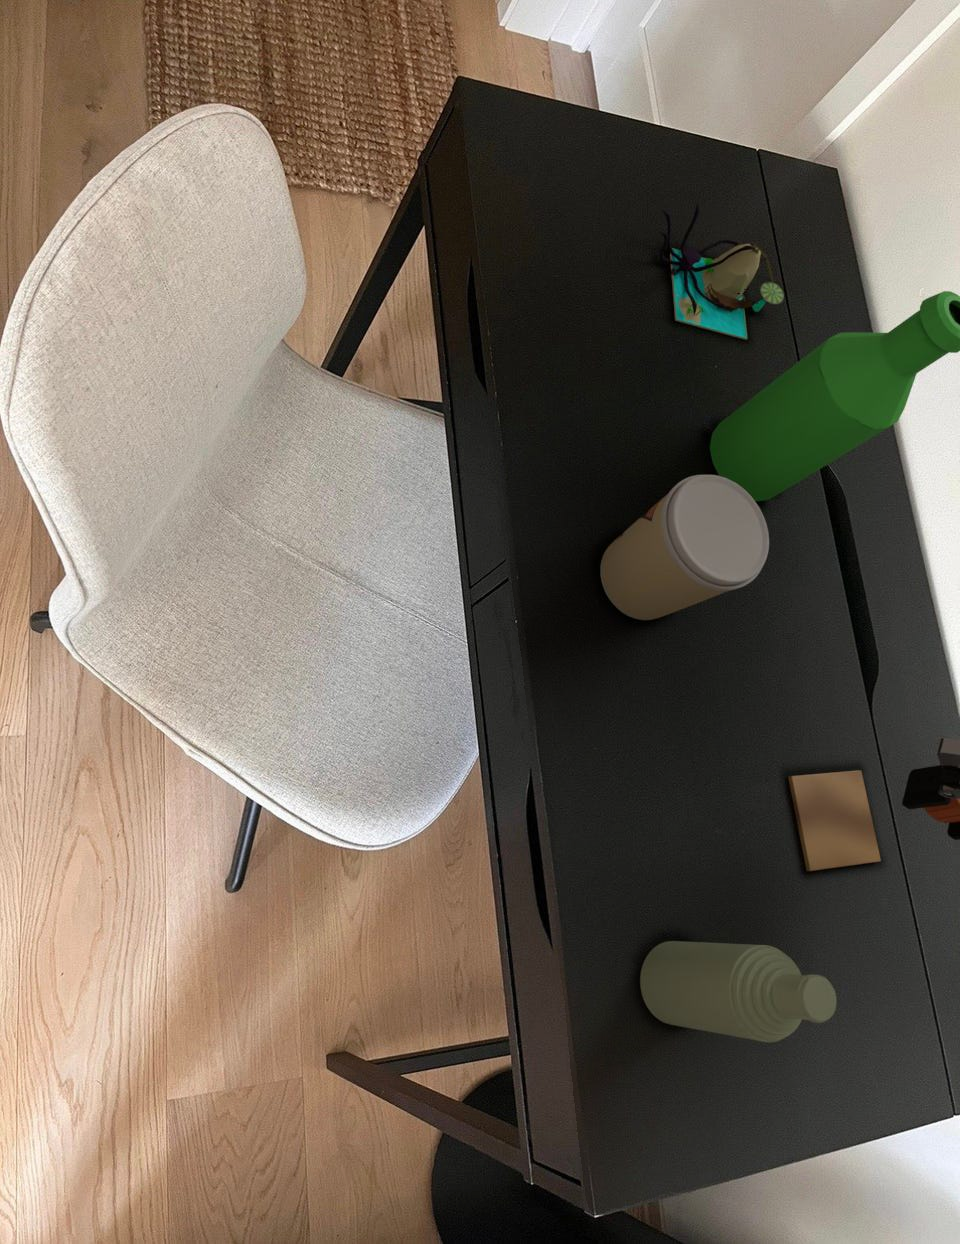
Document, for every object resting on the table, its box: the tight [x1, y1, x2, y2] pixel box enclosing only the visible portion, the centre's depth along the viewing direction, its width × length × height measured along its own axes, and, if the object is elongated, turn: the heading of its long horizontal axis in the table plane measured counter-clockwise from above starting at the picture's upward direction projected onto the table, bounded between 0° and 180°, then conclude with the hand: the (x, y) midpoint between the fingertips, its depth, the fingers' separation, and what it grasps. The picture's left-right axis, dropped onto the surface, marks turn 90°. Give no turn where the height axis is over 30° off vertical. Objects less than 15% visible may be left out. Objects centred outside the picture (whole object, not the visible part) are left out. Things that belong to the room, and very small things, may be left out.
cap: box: [924, 799, 960, 824], centre depth 70 cm, size 4×4×3 cm
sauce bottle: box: [639, 940, 838, 1043], centre depth 64 cm, size 6×6×16 cm
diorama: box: [659, 202, 785, 341], centre depth 91 cm, size 11×15×6 cm
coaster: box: [787, 769, 882, 872], centre depth 81 cm, size 8×8×1 cm
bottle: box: [709, 290, 960, 502], centre depth 78 cm, size 9×9×25 cm
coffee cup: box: [599, 474, 770, 621], centre depth 75 cm, size 9×9×12 cm
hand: (933, 804), depth 72 cm, fingers closed on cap, 4 cm apart
